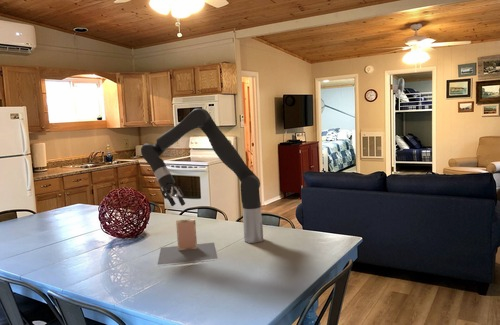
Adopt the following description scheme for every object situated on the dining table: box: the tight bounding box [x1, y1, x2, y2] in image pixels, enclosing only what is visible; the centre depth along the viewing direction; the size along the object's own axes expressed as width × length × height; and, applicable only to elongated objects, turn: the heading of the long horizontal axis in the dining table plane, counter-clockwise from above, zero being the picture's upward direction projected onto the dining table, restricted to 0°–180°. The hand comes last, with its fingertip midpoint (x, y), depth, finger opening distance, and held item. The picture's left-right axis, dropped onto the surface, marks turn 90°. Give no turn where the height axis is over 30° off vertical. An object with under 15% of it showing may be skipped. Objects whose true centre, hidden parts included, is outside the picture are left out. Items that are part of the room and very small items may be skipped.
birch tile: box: [175, 218, 198, 250], centre depth 191 cm, size 9×2×14 cm, turn 99°
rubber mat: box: [156, 242, 218, 267], centre depth 186 cm, size 26×24×1 cm
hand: (178, 205), depth 197 cm, fingers open, 8 cm apart
